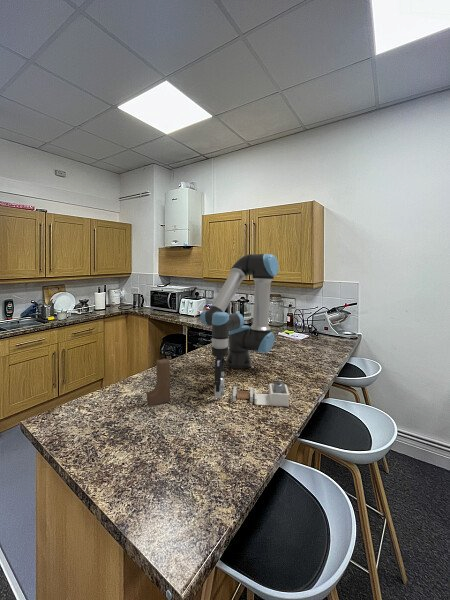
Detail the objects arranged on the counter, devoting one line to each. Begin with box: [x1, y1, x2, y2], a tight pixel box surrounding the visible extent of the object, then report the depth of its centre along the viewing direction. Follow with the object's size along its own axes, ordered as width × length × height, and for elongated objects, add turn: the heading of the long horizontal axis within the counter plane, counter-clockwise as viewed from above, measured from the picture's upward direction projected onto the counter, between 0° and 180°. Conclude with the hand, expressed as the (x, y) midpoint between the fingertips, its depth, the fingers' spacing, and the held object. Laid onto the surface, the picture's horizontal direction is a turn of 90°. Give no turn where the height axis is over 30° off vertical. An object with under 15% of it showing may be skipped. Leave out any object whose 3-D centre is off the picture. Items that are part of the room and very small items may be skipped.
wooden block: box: [146, 358, 171, 407], centre depth 120 cm, size 9×4×18 cm, turn 121°
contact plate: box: [236, 390, 250, 400], centre depth 123 cm, size 3×5×2 cm, turn 85°
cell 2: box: [273, 380, 285, 394], centre depth 120 cm, size 4×4×8 cm
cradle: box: [232, 386, 254, 403], centre depth 123 cm, size 9×9×4 cm
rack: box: [253, 383, 290, 407], centre depth 121 cm, size 10×14×6 cm
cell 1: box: [221, 376, 226, 396], centre depth 130 cm, size 4×4×8 cm
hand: (219, 391), depth 130 cm, fingers open, 13 cm apart
